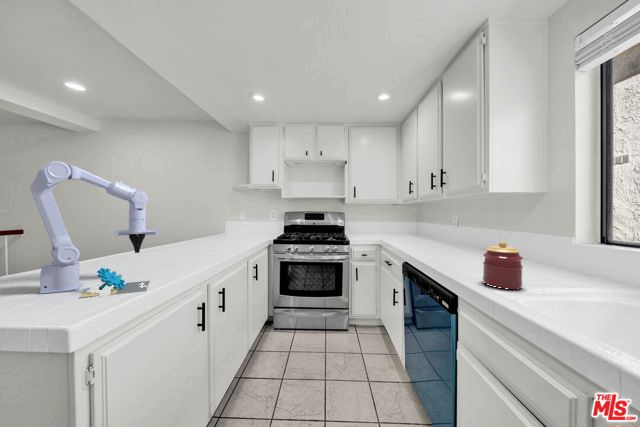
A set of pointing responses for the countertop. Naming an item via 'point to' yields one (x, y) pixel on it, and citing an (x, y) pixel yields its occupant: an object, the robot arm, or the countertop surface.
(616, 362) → the countertop surface
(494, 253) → the canister
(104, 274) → the gear
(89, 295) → the mat
